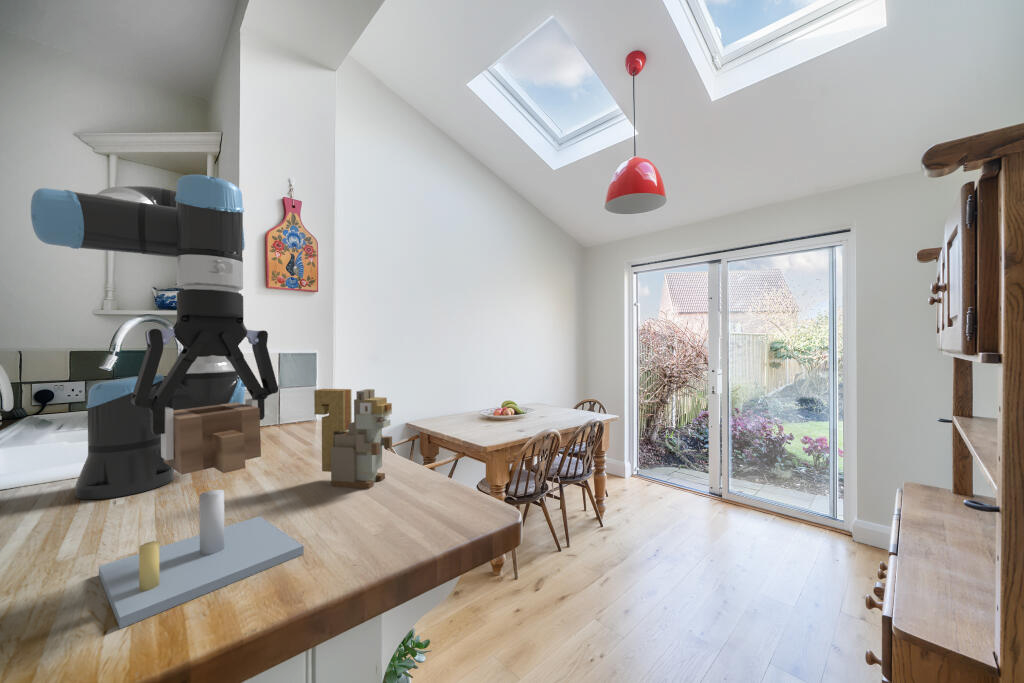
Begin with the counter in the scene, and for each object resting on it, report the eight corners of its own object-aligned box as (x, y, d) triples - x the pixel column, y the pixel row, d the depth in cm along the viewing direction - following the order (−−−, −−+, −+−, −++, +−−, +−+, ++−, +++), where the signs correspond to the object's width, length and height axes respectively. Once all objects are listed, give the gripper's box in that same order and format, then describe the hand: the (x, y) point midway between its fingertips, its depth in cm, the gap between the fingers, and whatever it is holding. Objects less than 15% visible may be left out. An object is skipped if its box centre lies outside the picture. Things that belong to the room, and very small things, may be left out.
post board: (98, 575, 53) (98, 505, 53) (259, 523, 67) (259, 468, 67) (120, 628, 43) (119, 542, 43) (303, 553, 58) (303, 489, 58)
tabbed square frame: (163, 461, 56) (161, 412, 56) (238, 446, 63) (236, 402, 63) (191, 481, 48) (188, 423, 48) (272, 461, 55) (271, 410, 55)
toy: (382, 489, 82) (381, 392, 82) (309, 484, 86) (308, 391, 86) (397, 479, 89) (396, 389, 89) (328, 474, 92) (328, 387, 92)
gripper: (106, 278, 46) (107, 475, 46) (303, 295, 63) (304, 438, 63) (96, 284, 50) (97, 463, 50) (282, 298, 67) (283, 432, 67)
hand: (212, 449), depth 57 cm, fingers closed on tabbed square frame, 9 cm apart
